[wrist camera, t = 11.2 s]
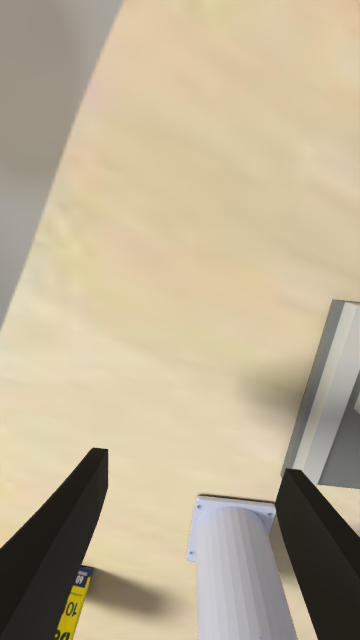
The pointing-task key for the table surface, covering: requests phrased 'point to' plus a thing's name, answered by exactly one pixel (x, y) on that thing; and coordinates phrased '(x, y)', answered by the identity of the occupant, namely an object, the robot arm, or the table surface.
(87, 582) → the supplement box
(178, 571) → the table surface
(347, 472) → the rail mount
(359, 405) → the block
